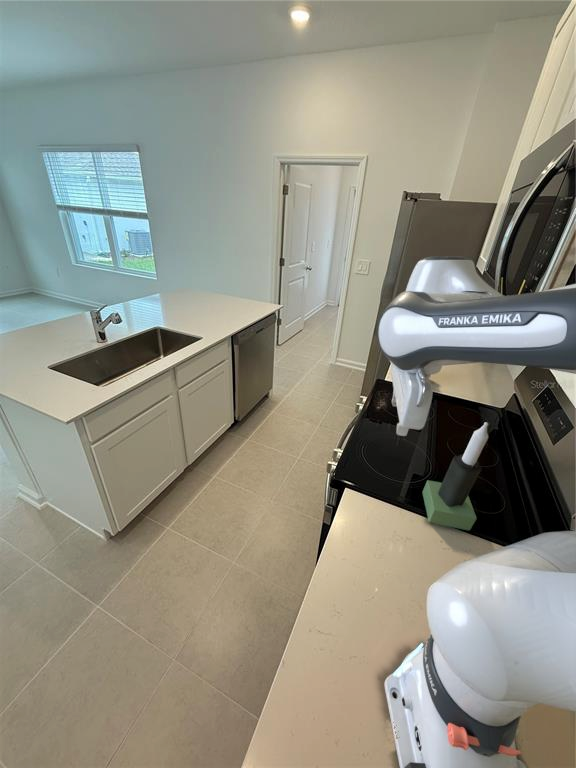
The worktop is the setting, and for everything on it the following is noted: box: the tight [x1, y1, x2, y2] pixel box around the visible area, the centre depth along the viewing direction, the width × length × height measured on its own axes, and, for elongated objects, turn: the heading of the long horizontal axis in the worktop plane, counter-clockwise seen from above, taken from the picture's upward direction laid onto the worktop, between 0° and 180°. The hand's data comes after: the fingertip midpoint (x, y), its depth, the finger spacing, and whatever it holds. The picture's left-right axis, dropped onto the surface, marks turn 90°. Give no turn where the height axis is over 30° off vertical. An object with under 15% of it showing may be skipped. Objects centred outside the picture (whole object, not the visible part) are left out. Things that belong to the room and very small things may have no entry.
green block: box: [421, 479, 477, 532], centre depth 82 cm, size 10×10×5 cm
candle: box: [438, 421, 489, 507], centre depth 74 cm, size 5×5×25 cm
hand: (398, 418), depth 60 cm, fingers open, 8 cm apart
